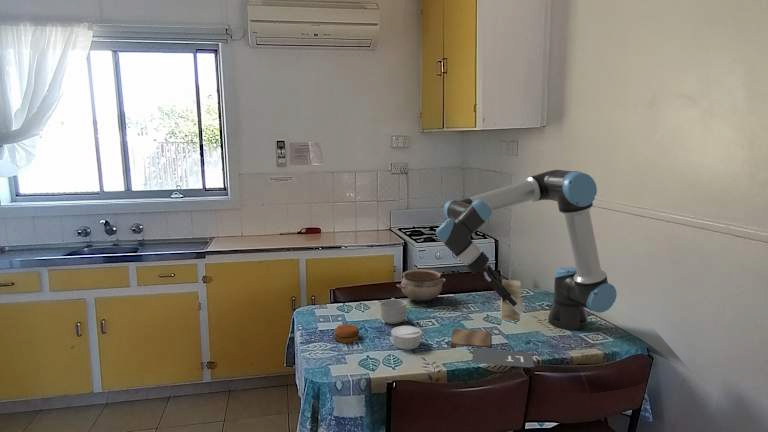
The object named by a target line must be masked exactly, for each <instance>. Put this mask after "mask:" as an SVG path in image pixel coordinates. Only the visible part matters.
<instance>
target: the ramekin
mask: <svg viewBox="0 0 768 432" xmlns="http://www.w3.org/2000/svg"><path fill="white" fill-rule="evenodd" d="M390 331H391V332H390V334H391V337H392V343H393V346H394V347H395V348H398V349H400V350H414V349H417V348H418V347H419V346H420V344H421V338H422V336H423V335H422V334H423V332H422V329H421V328H418V327H417V326H412V325H400V326H396V327H393V328H392V329H391V330H390Z"/></svg>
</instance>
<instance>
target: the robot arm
mask: <svg viewBox="0 0 768 432" xmlns="http://www.w3.org/2000/svg"><path fill="white" fill-rule="evenodd" d="M596 183H597V182H596V181H595V180H594V178H593V177H592V176H590V175H589V174H588V173H586V172H582V171H577V170H574V171H572V170H565V169H564V170H563V169H552V170H547V171H544V172H540V173H537V174H534V175H531V176H528V177H527V178H525V180H524V181H521V182H518V183H514V184H511V185H508V186H504V187H501V188H496V189H493V190H490V191H486V192H483V193H481V194H477V195H474V196H471V197H467V198H463V199H460V200H457V199H451V200H449V201H447V202H446V203H445V205H444V206H443V214H444V216H445V218H446V220H445V221H444V222H442V223H441V225H440V226H439V227H437V229H436V230H435V234H436V235H435V236H437V237H438V239H439V240H440V241H441V242H442V244H444V245H445V247H447V249H449V250H450V252H452V254H453V255H454V256H455V257H457V262H461V263H462V264H463V265H465V267H466V269H468V271H470V273H471V274H473V275H474V274H477V273H478V272H479V273H480V274H481V275H480V276H481V278H483V281H485V282H486V283H487V284H488V285H489V286H490V287H491V288H492V289H493V290H494V291H495V293H496V294H497V295H498V296H499V297H500V299H501V298H502V299H503V300H502V301H503V302H504V301H505V300H506V301H507V302H508V303H509V304H510V306H511V307H512V308H513V309H514V310H515V311H516V312H517V313H518V314H520V315H521V313H523V312H524V311H526V307H524V306H523V304H524V301H523V300H522V299H521V302H520V303H519V302H518V301H517V300H516V299H515V297H514V296H513V295H512V294H510V293H509V292H508V291H507V290H506V289H505V288H504V287H503V286H502V280H504V279H503V278H502V277H501V276H500V275H499V274H498V273H497V271H495V270H494V269H493V267H492V266H491V265H490V264H488V263H489V261H490V258H489V257H488V256H487V254H485V252H484V251H481V248H480V246H478V245H477V244H476V243H475V242H474V240H473V239H472V238H470V237H471V236H473V234H474V233H475V232H477V230H479V228H481V227H482V226H483V224H485V223H486V222H487V221H488V219H490V217H491V216H492V214H493V213H494V212H496V211H500V210H502V209H503V210H504V209H506V208H507V209H508V208H510V207H513V206H516V205H517V206H518V205H520V204H523V203H526V202H530V201H531V202H534V203H535V202H539V201H553V202H557V208H558V211H559V213H562V215H564V218H565V223H566V228H567V233H568V234H567V235H568V237H569V242H570V247H571V252H572V258H573V262H574V266H564V267H558V268H557V269H556V270H555V272H554V273H555V274H554V283H553V285H554V287H553V289H554V290H553V303H552V305H551V308H550V311H549V314H548V317H547V322H548V323H549V324H550V325H551V326H553V327H556V328H559V329H563V330H571V331H572V330H573V331H576V330H579V331H580V330H584V329H586V328H587V327H588V325H589V324H588V323H589V320H588V316H587V313H586V310H589V311H592V312H593V313H605V312H607V311H608V310H610V309H611V308H612V306H614V303H615V302H616V301H617V300H616V299H617V289H616V287H615V286H614V285H613V284H612V283H609V281H608V277H607V272H606V271H605V270H603V269H602V268H601V263H600V262H601V261H600V257H599V253H598V249H597V241H596V238H595V233H594V228H593V222H592V217H591V213H590V212H591V211H590V210H591V209H592V208H593V206H594V203H593V202H594V201H595V199H596V196H597V193H598V187H597V184H596ZM504 295H505V296H504Z"/></svg>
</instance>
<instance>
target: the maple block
mask: <svg viewBox="0 0 768 432" xmlns="http://www.w3.org/2000/svg"><path fill="white" fill-rule="evenodd" d="M502 286H503V287H504V288H505V289H506V290H507V291H508V292H509V293H510V294H512V295H513V296H514V297H515V299H516V300H517V301H518V302H519V303H520V302H521V300H522V297H521V296H522V283H521V280H515V279H503V280H502ZM504 296H505V295H504ZM502 300H503V299H502V298H501V297H500V313H499V314H500V319H501V320H502V321H503V320H504V321H505V320H506V321H520V320H521V313H520V314H518V313H517V312H516V311H515V310H514V309H513V308H512V307H511V306H510V304H509V303H508V302H507V301H506V300H505V301H504V302H503V301H502Z"/></svg>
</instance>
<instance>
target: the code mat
mask: <svg viewBox="0 0 768 432" xmlns="http://www.w3.org/2000/svg"><path fill="white" fill-rule="evenodd" d="M471 363H472V364H474V363H475V364H485V365H498V366H509V367H520V368H531V367H534V368H535V364H534V363H535V362H534V357H533V353H532V352H522V351H510V350H508V351H507V350H497V349H483V348H472V360H471Z"/></svg>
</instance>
